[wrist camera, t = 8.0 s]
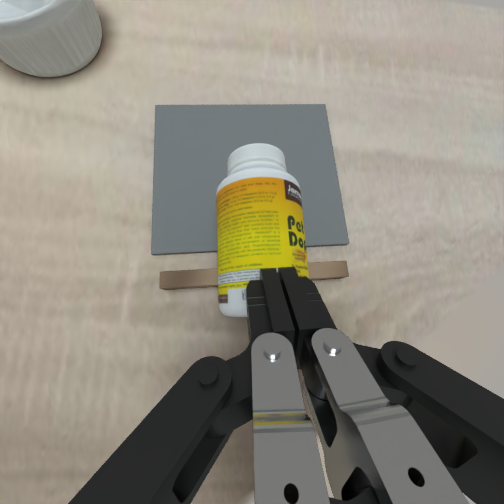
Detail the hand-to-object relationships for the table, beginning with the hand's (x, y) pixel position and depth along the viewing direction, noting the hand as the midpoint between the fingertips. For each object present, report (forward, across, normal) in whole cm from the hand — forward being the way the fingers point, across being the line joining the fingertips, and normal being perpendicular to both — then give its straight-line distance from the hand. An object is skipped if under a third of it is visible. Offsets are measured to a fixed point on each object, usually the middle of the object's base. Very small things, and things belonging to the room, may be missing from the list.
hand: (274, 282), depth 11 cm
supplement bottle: (+1, 0, +4) cm, 4 cm away
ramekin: (+24, +18, -12) cm, 32 cm away
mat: (+13, 0, -2) cm, 13 cm away
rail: (+6, 0, +4) cm, 8 cm away
